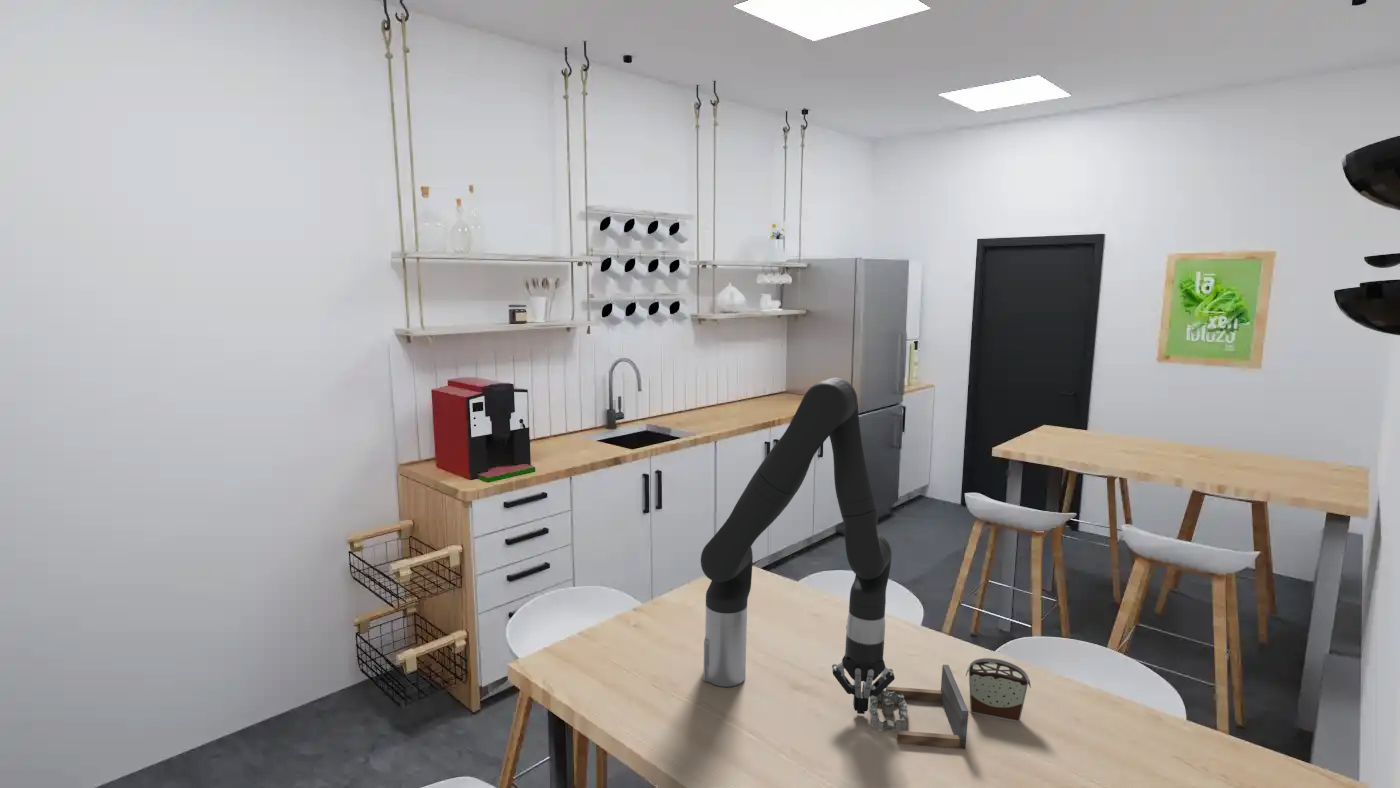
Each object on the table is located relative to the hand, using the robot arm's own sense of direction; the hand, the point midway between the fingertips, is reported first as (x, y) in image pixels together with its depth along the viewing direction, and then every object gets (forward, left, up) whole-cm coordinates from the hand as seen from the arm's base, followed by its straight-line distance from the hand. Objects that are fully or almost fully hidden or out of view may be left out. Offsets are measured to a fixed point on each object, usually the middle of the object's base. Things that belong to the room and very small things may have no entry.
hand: (860, 711), depth 146 cm
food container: (+28, +6, -1) cm, 29 cm away
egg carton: (+6, 0, -2) cm, 6 cm away
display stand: (+12, 0, -1) cm, 12 cm away
